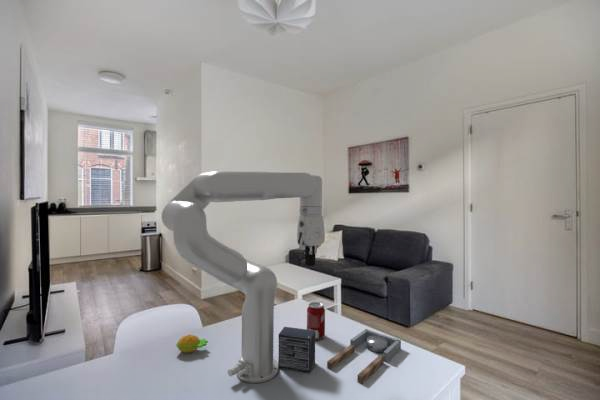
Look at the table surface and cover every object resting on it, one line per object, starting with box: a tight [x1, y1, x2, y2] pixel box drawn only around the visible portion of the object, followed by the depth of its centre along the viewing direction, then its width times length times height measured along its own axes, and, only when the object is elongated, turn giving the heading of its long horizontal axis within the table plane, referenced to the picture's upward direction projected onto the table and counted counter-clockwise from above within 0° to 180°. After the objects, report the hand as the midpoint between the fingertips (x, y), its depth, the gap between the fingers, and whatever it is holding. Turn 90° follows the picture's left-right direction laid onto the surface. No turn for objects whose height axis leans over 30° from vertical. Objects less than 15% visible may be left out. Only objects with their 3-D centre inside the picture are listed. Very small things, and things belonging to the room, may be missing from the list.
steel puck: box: [366, 335, 388, 355], centre depth 104 cm, size 7×7×3 cm
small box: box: [278, 326, 316, 374], centre depth 93 cm, size 11×6×10 cm, turn 74°
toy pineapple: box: [175, 334, 209, 354], centre depth 101 cm, size 7×10×5 cm
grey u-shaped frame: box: [349, 328, 402, 363], centre depth 104 cm, size 11×13×3 cm
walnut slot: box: [326, 344, 385, 385], centre depth 93 cm, size 14×12×2 cm
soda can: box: [306, 301, 326, 341], centre depth 112 cm, size 7×7×12 cm
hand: (310, 265), depth 102 cm, fingers closed
